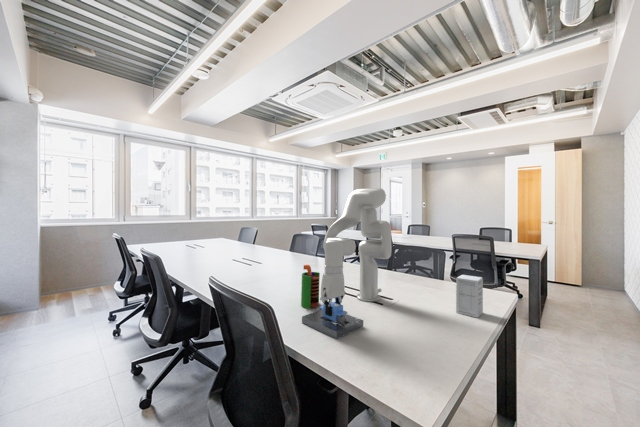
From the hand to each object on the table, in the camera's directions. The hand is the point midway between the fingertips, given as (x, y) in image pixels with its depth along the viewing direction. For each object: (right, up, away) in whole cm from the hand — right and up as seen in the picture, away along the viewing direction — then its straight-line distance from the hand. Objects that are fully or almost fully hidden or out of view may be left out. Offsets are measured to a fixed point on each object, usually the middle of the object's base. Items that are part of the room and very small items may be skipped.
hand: (333, 313), depth 114 cm
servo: (0, -2, 0) cm, 2 cm away
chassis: (0, -5, +1) cm, 5 cm away
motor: (-10, -5, +24) cm, 27 cm away
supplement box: (+65, -6, +16) cm, 67 cm away
